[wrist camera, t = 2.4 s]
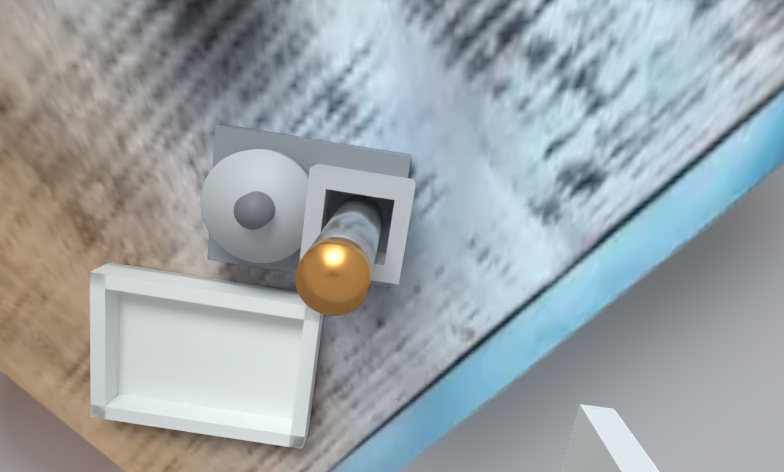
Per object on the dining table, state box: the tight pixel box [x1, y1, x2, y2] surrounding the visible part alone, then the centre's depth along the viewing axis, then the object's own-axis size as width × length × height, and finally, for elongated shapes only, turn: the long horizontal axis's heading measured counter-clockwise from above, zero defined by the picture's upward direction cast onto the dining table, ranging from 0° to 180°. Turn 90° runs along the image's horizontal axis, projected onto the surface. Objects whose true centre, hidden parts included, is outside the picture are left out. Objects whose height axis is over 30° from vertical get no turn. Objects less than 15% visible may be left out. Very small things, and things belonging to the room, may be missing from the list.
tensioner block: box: [201, 125, 416, 288], centre depth 33 cm, size 14×10×6 cm
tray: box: [90, 262, 324, 449], centre depth 38 cm, size 18×13×2 cm
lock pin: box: [295, 196, 383, 316], centre depth 27 cm, size 3×3×13 cm
